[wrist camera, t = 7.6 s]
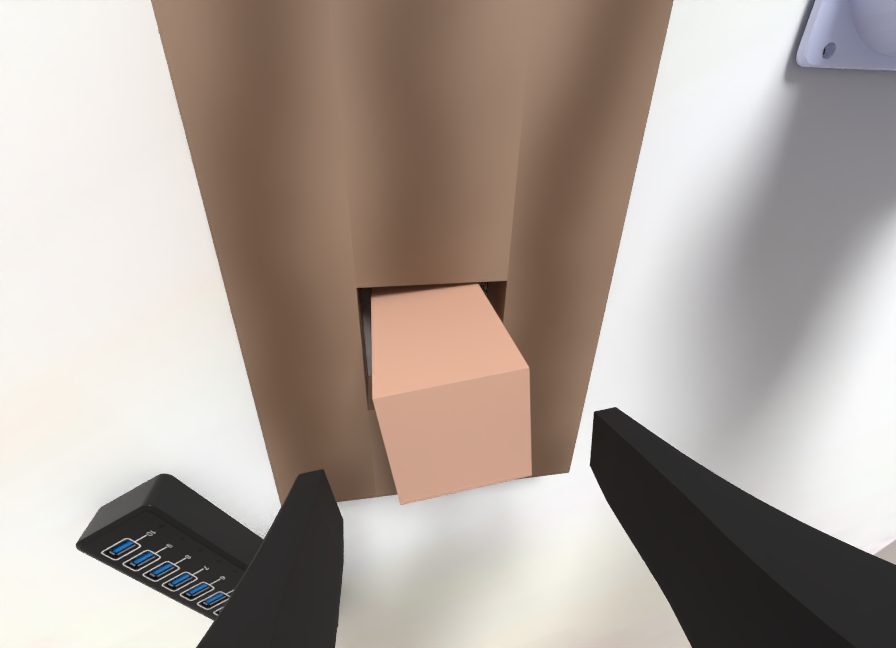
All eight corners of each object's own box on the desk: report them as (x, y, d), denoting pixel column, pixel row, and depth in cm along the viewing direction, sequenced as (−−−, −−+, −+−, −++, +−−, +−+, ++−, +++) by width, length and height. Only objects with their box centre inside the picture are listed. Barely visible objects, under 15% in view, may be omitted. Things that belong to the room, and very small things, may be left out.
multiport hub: (169, 464, 20) (147, 503, 18) (343, 589, 27) (341, 627, 25) (98, 504, 21) (69, 547, 19) (287, 617, 28) (281, 657, 26)
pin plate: (631, -11, 14) (680, -32, 12) (550, 438, 23) (568, 472, 21) (175, -43, 12) (131, -77, 9) (290, 466, 21) (282, 508, 19)
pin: (465, 261, 17) (529, 367, 10) (473, 341, 19) (531, 475, 12) (370, 278, 17) (372, 399, 10) (388, 357, 19) (400, 505, 12)
